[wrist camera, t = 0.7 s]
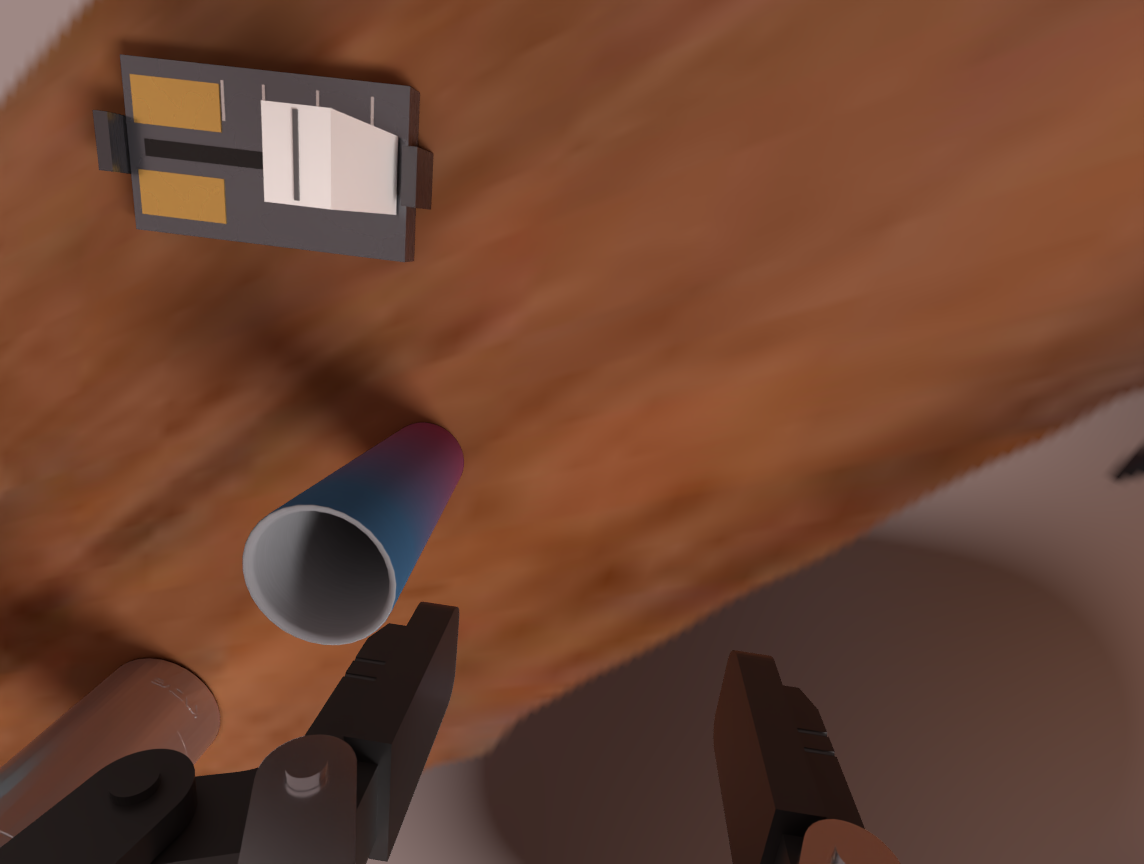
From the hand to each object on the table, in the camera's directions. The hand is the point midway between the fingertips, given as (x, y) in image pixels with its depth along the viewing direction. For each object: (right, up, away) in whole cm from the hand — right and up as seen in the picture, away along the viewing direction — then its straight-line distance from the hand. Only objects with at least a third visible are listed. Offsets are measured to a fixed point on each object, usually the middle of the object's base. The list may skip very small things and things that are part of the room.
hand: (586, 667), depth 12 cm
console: (-17, +20, +24) cm, 36 cm away
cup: (-10, +3, +29) cm, 31 cm away
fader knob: (-11, +19, +22) cm, 31 cm away
